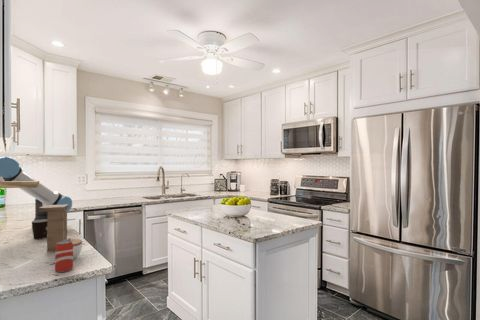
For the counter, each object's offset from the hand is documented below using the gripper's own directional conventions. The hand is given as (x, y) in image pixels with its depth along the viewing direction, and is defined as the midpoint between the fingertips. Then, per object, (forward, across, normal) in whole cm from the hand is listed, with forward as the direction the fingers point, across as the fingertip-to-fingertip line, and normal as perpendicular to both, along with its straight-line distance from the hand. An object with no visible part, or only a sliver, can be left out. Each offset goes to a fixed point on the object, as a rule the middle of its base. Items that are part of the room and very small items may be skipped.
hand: (0, 179), depth 139 cm
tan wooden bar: (+1, 0, -6) cm, 6 cm away
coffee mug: (-10, -29, -37) cm, 48 cm away
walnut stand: (+2, 0, -43) cm, 43 cm away
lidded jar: (+11, +17, -49) cm, 53 cm away
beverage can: (+13, +33, -50) cm, 61 cm away
